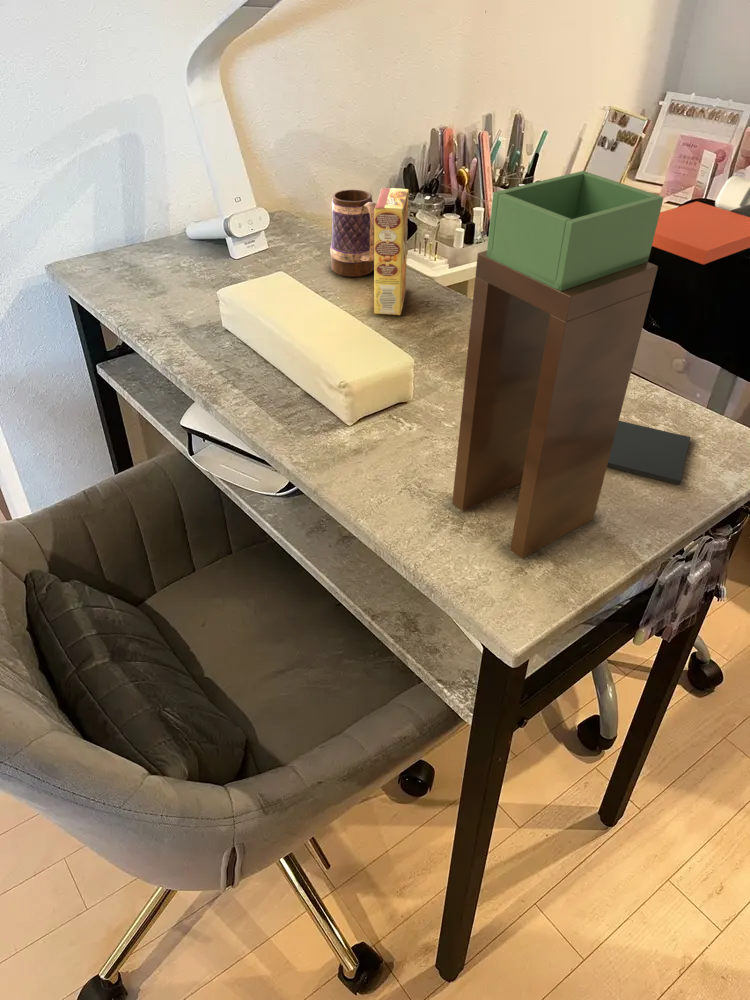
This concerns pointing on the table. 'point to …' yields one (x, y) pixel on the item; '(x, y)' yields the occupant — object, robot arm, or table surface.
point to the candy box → (390, 250)
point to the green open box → (572, 228)
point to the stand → (546, 393)
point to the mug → (352, 233)
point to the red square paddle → (703, 231)
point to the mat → (649, 452)
